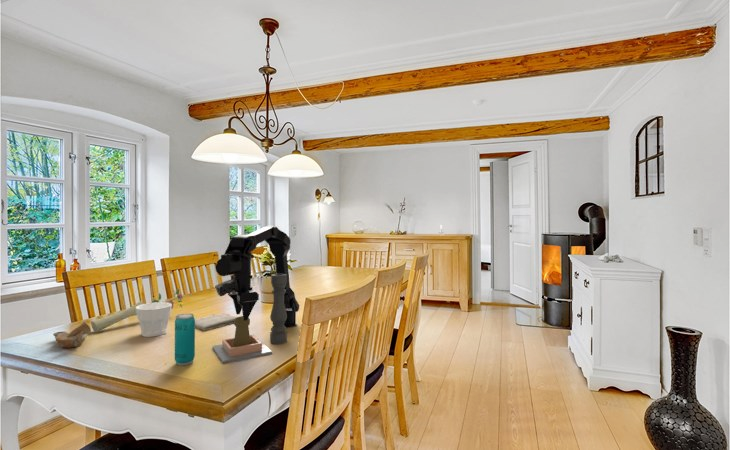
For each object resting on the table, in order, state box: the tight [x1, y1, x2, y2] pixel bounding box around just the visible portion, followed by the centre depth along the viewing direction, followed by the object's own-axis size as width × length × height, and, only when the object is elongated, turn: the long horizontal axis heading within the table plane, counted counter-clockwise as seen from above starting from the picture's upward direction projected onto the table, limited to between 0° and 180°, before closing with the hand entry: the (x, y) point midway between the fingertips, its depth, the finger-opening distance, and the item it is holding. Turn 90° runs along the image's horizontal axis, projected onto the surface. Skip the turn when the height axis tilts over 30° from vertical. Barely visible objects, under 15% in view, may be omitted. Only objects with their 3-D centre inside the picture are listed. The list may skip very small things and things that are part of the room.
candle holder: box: [269, 273, 288, 345], centre depth 138 cm, size 6×6×25 cm
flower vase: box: [90, 288, 183, 333], centre depth 160 cm, size 12×12×35 cm
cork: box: [233, 315, 251, 347], centre depth 128 cm, size 6×6×11 cm
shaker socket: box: [212, 334, 273, 364], centre depth 128 cm, size 16×16×3 cm
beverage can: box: [174, 313, 196, 366], centre depth 117 cm, size 6×6×15 cm
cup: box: [136, 301, 173, 338], centre depth 145 cm, size 12×12×11 cm
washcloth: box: [195, 313, 238, 332], centre depth 160 cm, size 12×18×3 cm, turn 147°
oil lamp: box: [52, 321, 92, 349], centre depth 131 cm, size 9×21×10 cm, turn 60°
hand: (241, 317), depth 127 cm, fingers open, 9 cm apart
